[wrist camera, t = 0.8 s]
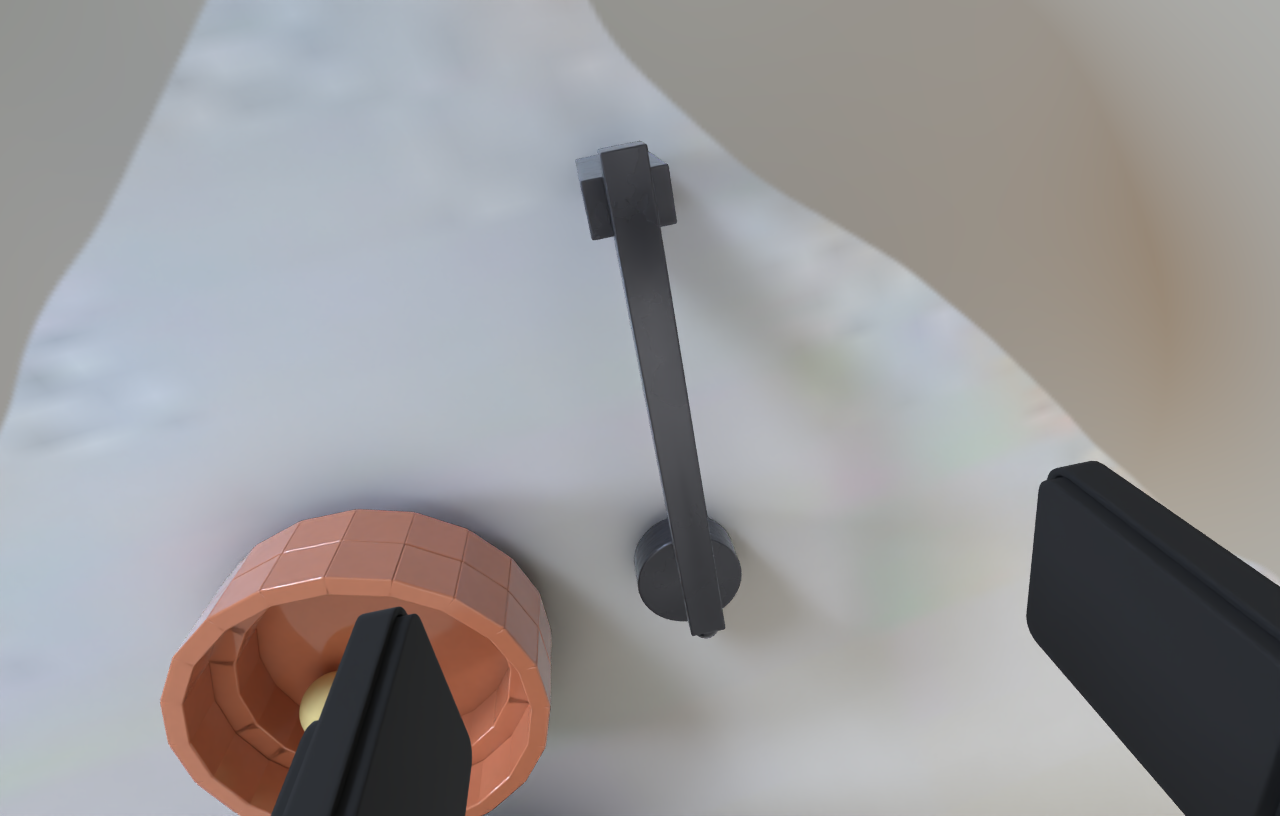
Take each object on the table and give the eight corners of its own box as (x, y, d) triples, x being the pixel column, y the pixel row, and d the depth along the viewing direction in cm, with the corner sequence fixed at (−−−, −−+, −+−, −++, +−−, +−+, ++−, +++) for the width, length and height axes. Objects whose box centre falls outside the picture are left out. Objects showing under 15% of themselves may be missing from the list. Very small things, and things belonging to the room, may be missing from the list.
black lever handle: (539, 144, 24) (530, 166, 17) (669, 118, 24) (714, 130, 17) (643, 604, 33) (666, 741, 26) (737, 584, 33) (785, 715, 26)
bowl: (159, 542, 28) (85, 627, 24) (505, 470, 29) (495, 540, 24) (297, 773, 35) (258, 874, 30) (579, 711, 35) (582, 803, 31)
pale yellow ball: (301, 663, 31) (277, 718, 28) (367, 650, 31) (348, 703, 29) (326, 709, 32) (305, 766, 30) (388, 696, 33) (373, 751, 30)
